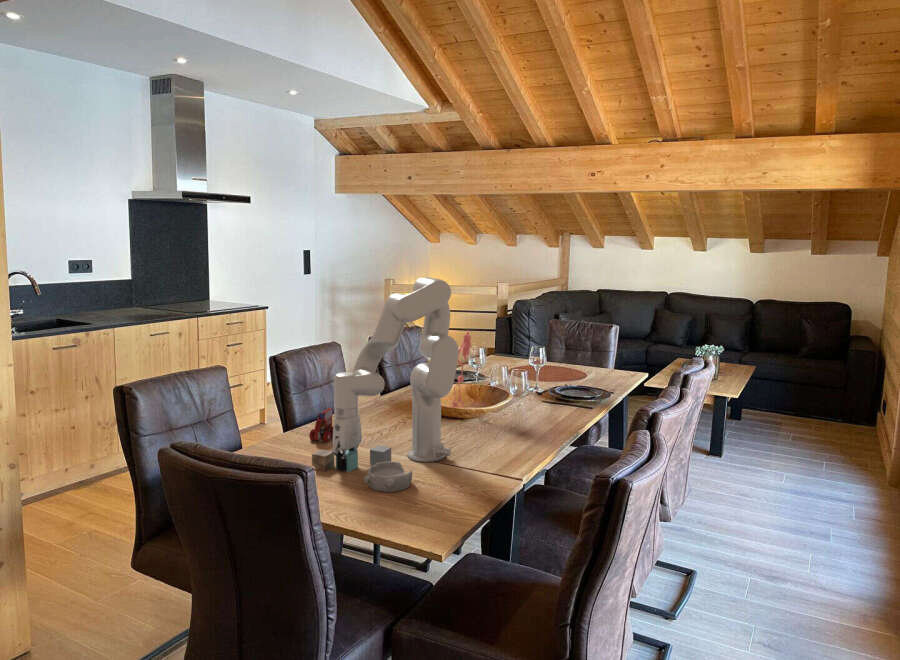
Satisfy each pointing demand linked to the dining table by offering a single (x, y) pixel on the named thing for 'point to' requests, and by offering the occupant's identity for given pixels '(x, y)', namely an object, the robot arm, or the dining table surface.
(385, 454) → the slate grey block
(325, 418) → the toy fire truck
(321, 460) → the walnut block
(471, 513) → the dining table surface
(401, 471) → the dish
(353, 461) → the teal block
